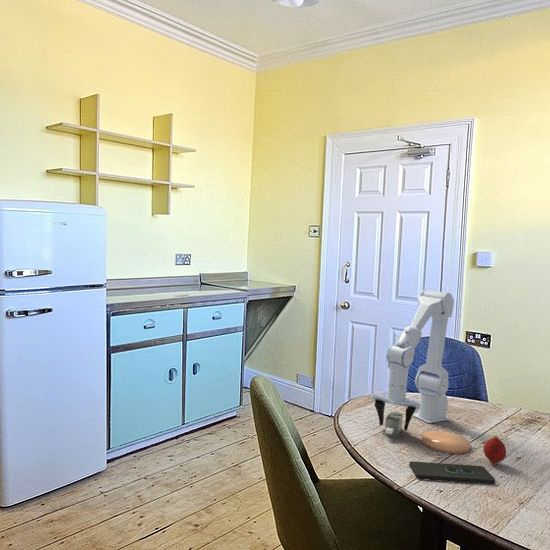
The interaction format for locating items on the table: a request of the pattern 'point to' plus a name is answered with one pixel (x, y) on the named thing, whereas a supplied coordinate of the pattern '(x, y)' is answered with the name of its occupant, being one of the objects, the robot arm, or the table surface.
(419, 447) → the table surface
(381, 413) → the robot arm
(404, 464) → the table surface
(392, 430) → the connector
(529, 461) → the table surface
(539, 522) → the table surface
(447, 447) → the plate
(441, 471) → the smart home device
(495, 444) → the onion
